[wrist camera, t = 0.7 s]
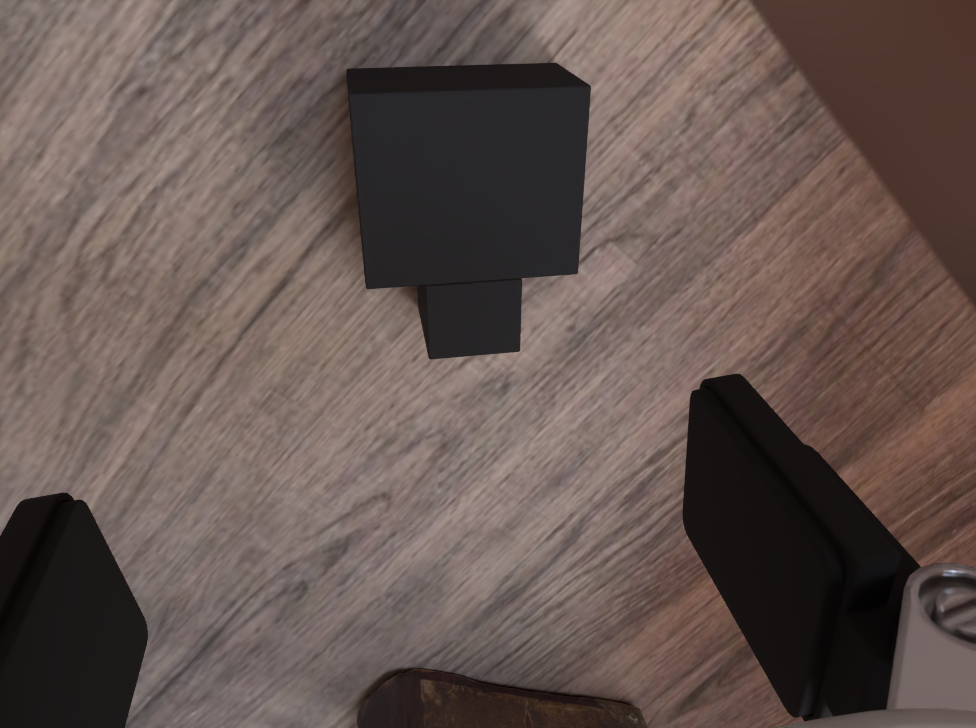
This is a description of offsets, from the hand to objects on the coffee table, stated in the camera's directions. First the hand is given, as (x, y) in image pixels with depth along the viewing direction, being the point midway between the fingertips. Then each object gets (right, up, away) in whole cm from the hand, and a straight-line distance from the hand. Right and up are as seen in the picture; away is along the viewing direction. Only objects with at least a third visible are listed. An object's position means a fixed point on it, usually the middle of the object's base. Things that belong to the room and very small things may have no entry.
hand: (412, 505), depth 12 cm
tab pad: (0, +8, +15) cm, 17 cm away
